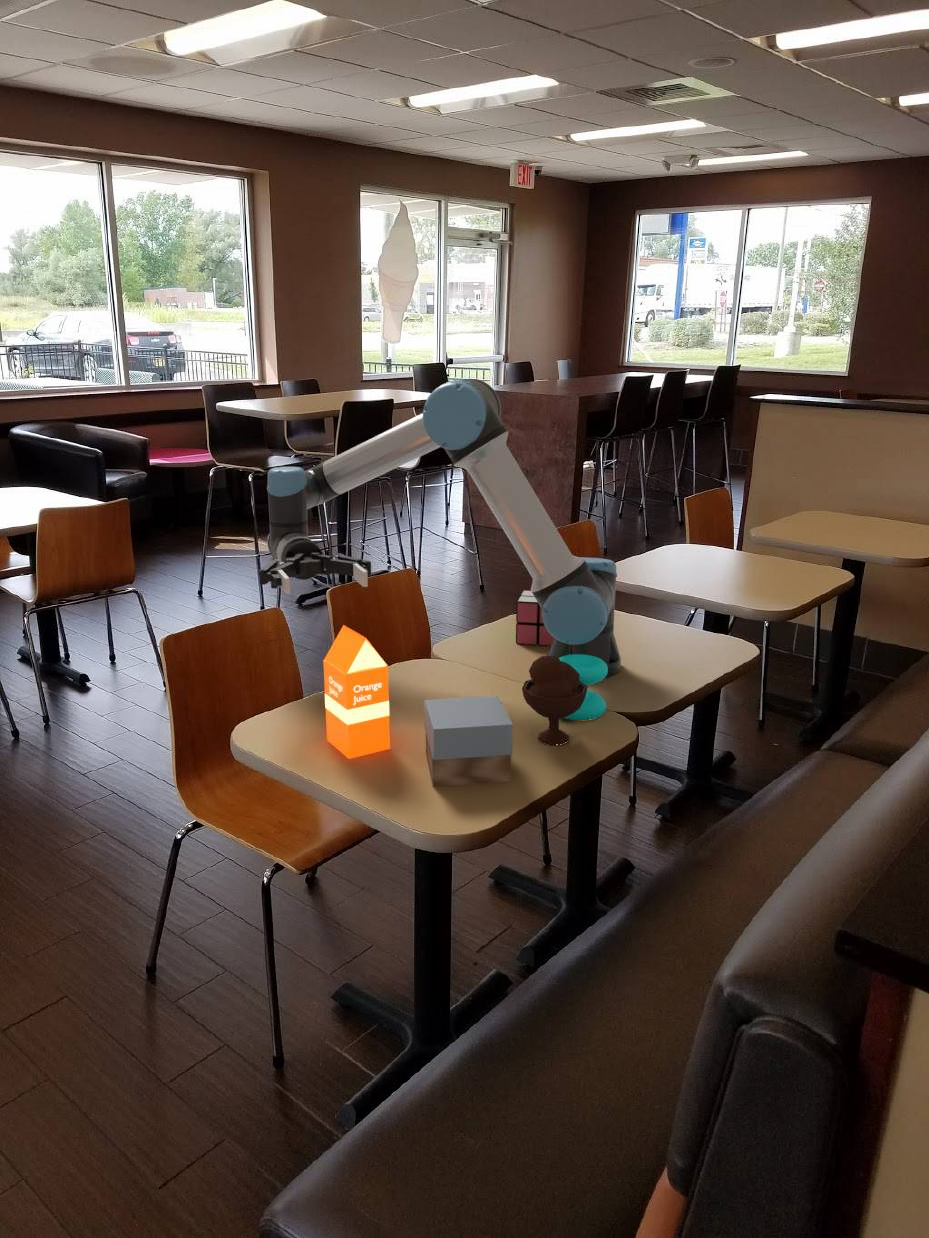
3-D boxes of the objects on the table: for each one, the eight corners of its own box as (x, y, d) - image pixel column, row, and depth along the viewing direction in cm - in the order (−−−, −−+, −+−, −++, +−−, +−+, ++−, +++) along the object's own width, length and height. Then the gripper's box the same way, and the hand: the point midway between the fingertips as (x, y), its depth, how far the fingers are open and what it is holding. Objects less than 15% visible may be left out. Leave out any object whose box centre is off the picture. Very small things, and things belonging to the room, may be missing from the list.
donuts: (540, 658, 168) (582, 648, 173) (539, 710, 171) (580, 698, 176) (578, 674, 160) (620, 663, 166) (576, 728, 163) (617, 715, 169)
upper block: (497, 724, 153) (497, 695, 152) (512, 754, 142) (512, 724, 140) (424, 728, 151) (424, 699, 150) (433, 760, 140) (433, 729, 139)
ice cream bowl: (569, 757, 151) (572, 671, 147) (509, 742, 157) (510, 658, 153) (596, 735, 160) (600, 652, 156) (538, 721, 166) (540, 641, 161)
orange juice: (348, 759, 151) (343, 642, 145) (326, 740, 158) (320, 627, 152) (391, 748, 155) (388, 634, 149) (367, 730, 162) (364, 620, 156)
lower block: (497, 751, 155) (498, 723, 153) (510, 784, 143) (510, 754, 142) (425, 755, 153) (425, 727, 152) (432, 788, 142) (432, 758, 140)
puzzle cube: (560, 647, 206) (561, 603, 203) (515, 644, 208) (516, 601, 205) (564, 634, 216) (566, 592, 213) (521, 631, 217) (522, 590, 215)
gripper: (363, 570, 184) (396, 597, 165) (235, 581, 175) (255, 610, 156) (362, 533, 182) (396, 555, 163) (232, 542, 173) (252, 567, 154)
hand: (327, 582), depth 160 cm, fingers open, 13 cm apart
